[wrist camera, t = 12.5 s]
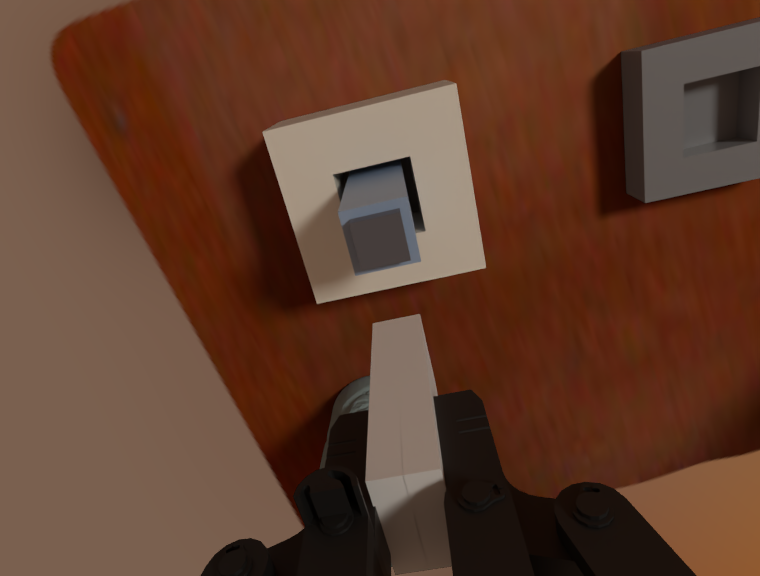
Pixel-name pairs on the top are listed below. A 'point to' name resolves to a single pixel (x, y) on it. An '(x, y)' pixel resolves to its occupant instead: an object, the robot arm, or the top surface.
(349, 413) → the robot arm
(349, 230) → the plug
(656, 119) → the grey square socket block
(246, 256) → the top surface
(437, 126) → the port
